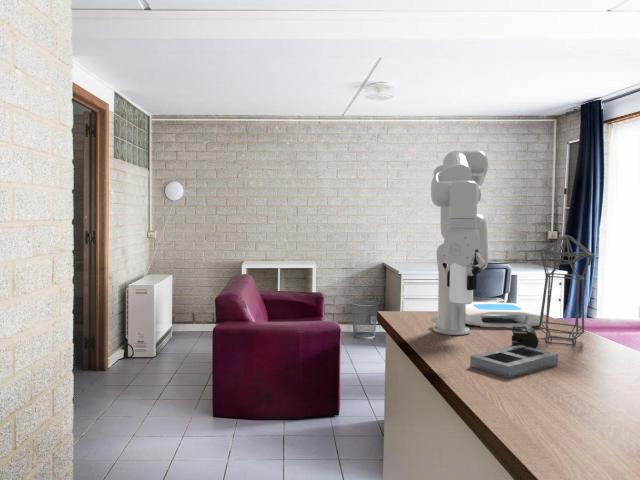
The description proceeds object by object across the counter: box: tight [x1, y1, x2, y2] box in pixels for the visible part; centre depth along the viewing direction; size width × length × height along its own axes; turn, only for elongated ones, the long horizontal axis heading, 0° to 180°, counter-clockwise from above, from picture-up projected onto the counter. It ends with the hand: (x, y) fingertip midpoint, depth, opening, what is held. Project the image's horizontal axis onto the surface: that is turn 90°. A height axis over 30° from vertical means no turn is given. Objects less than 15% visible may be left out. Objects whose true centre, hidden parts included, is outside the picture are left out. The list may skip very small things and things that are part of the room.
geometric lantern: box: [538, 235, 596, 346], centre depth 167 cm, size 16×16×35 cm
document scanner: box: [466, 301, 544, 329], centre depth 198 cm, size 21×28×6 cm
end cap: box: [511, 325, 539, 349], centre depth 157 cm, size 10×7×7 cm
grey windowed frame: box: [469, 345, 559, 379], centre depth 140 cm, size 12×22×3 cm, turn 124°
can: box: [449, 263, 474, 304], centre depth 144 cm, size 6×6×12 cm
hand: (461, 287), depth 145 cm, fingers closed on can, 6 cm apart
